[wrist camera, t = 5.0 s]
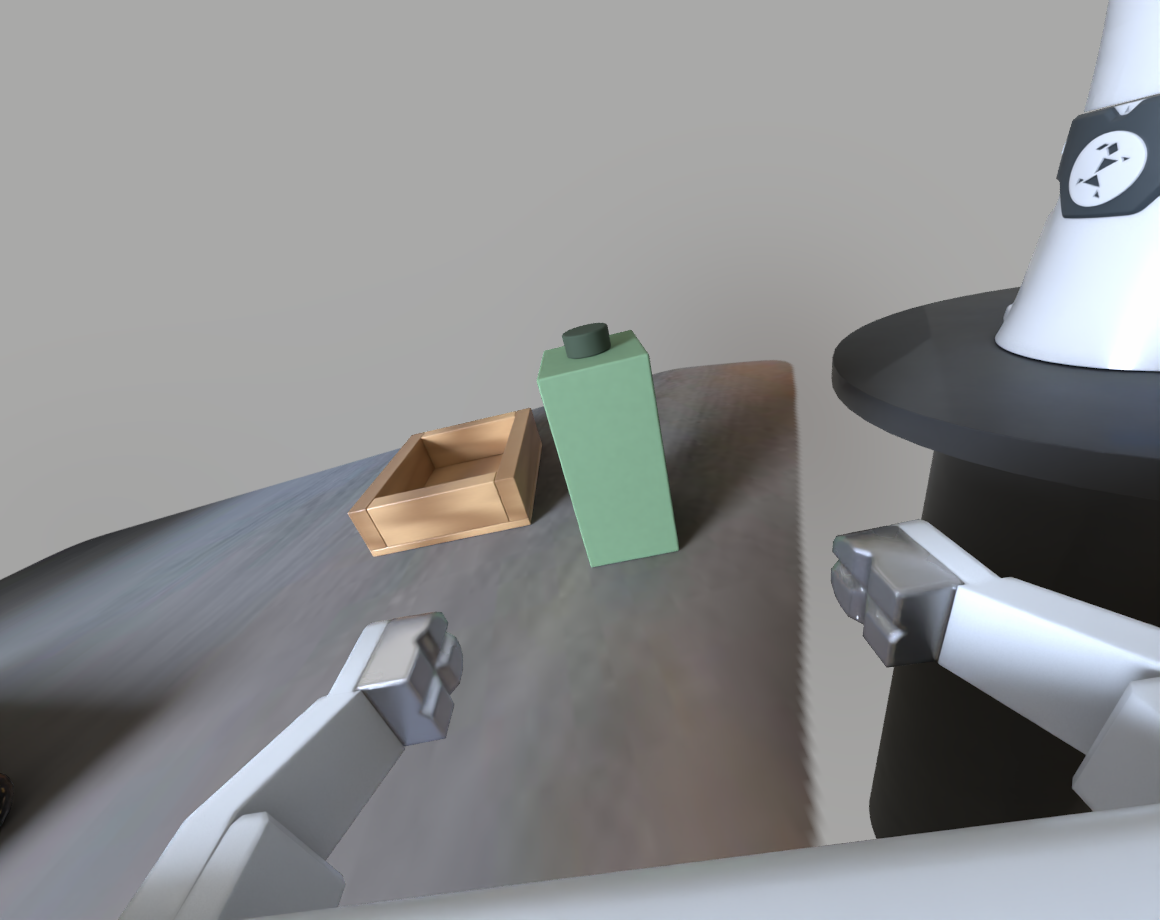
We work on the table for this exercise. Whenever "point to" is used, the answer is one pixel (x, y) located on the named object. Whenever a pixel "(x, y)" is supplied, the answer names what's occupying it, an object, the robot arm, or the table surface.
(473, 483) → the wooden tray
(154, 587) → the table surface
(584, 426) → the green carton with cap
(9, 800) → the sunglasses case
